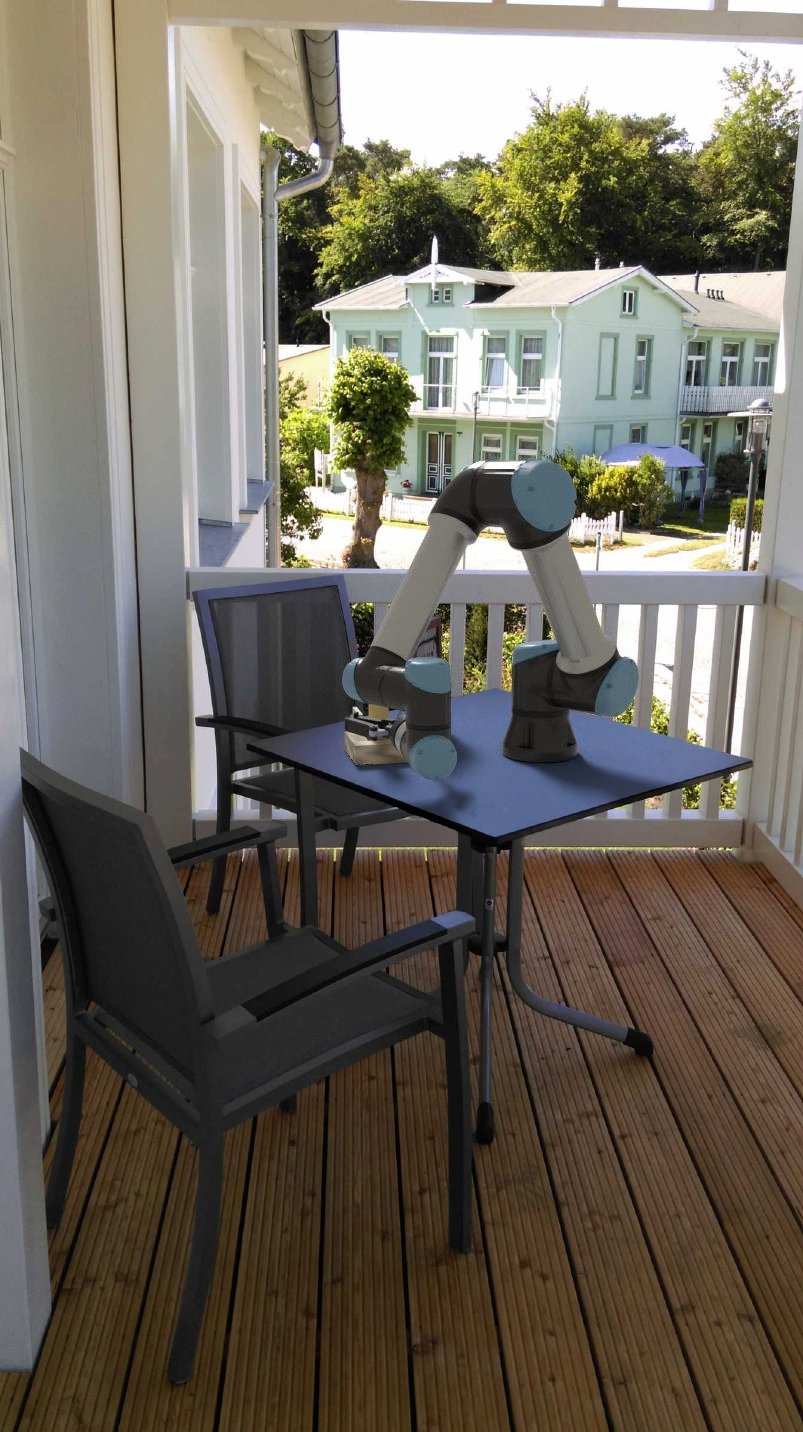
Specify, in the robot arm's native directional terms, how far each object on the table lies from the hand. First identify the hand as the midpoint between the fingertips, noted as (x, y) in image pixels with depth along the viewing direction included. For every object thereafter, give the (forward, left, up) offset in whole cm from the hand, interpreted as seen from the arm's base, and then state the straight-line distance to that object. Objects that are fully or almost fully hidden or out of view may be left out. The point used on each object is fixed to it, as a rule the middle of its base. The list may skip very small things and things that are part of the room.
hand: (389, 711), depth 223 cm
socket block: (0, -10, -11) cm, 15 cm away
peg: (0, -10, -11) cm, 15 cm away
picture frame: (-10, -25, -12) cm, 29 cm away
